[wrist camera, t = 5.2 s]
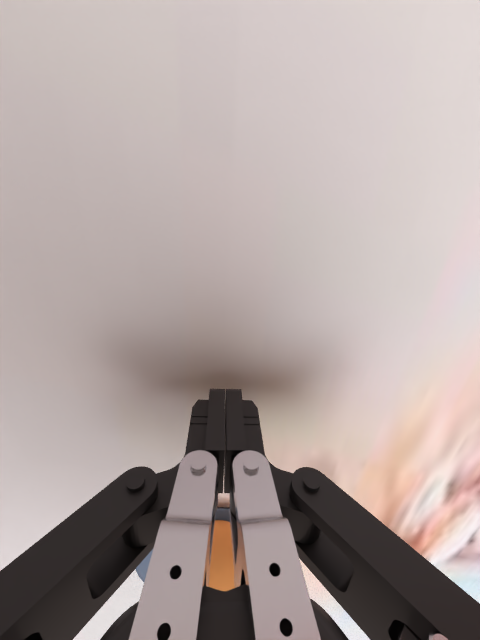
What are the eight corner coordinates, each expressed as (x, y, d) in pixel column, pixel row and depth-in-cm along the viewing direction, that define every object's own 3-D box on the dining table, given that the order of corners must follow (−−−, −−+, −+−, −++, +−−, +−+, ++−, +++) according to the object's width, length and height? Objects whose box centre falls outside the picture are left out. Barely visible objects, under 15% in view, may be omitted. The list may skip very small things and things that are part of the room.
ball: (155, 583, 19) (150, 545, 16) (222, 525, 22) (228, 485, 19) (200, 692, 15) (205, 668, 12) (273, 603, 18) (290, 568, 15)
